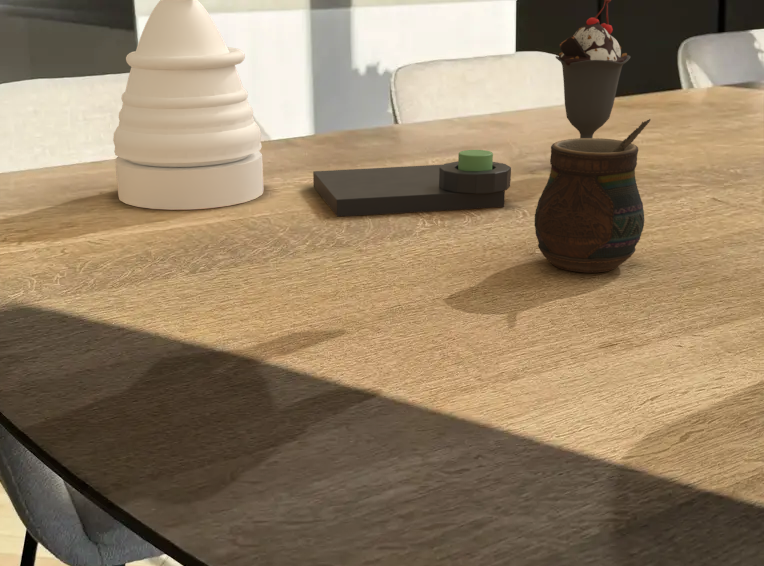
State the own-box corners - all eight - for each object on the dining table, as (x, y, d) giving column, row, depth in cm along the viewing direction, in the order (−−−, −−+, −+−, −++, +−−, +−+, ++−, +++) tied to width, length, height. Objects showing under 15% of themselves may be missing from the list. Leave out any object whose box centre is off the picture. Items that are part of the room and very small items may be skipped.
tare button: (486, 167, 94) (487, 148, 93) (496, 174, 91) (497, 154, 90) (454, 169, 93) (454, 150, 93) (463, 175, 91) (464, 156, 90)
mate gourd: (564, 245, 80) (574, 101, 76) (663, 262, 76) (680, 110, 72) (510, 267, 75) (518, 114, 71) (612, 286, 71) (628, 125, 67)
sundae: (615, 163, 108) (630, -4, 101) (623, 177, 102) (640, 0, 95) (546, 163, 109) (556, -3, 102) (550, 176, 102) (561, 1, 96)
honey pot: (293, 189, 100) (287, -29, 92) (190, 216, 91) (174, -23, 83) (191, 173, 107) (178, -30, 100) (87, 197, 98) (64, -24, 91)
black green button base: (472, 178, 103) (473, 145, 101) (517, 208, 91) (519, 171, 90) (313, 186, 101) (312, 153, 99) (338, 219, 89) (338, 181, 88)
